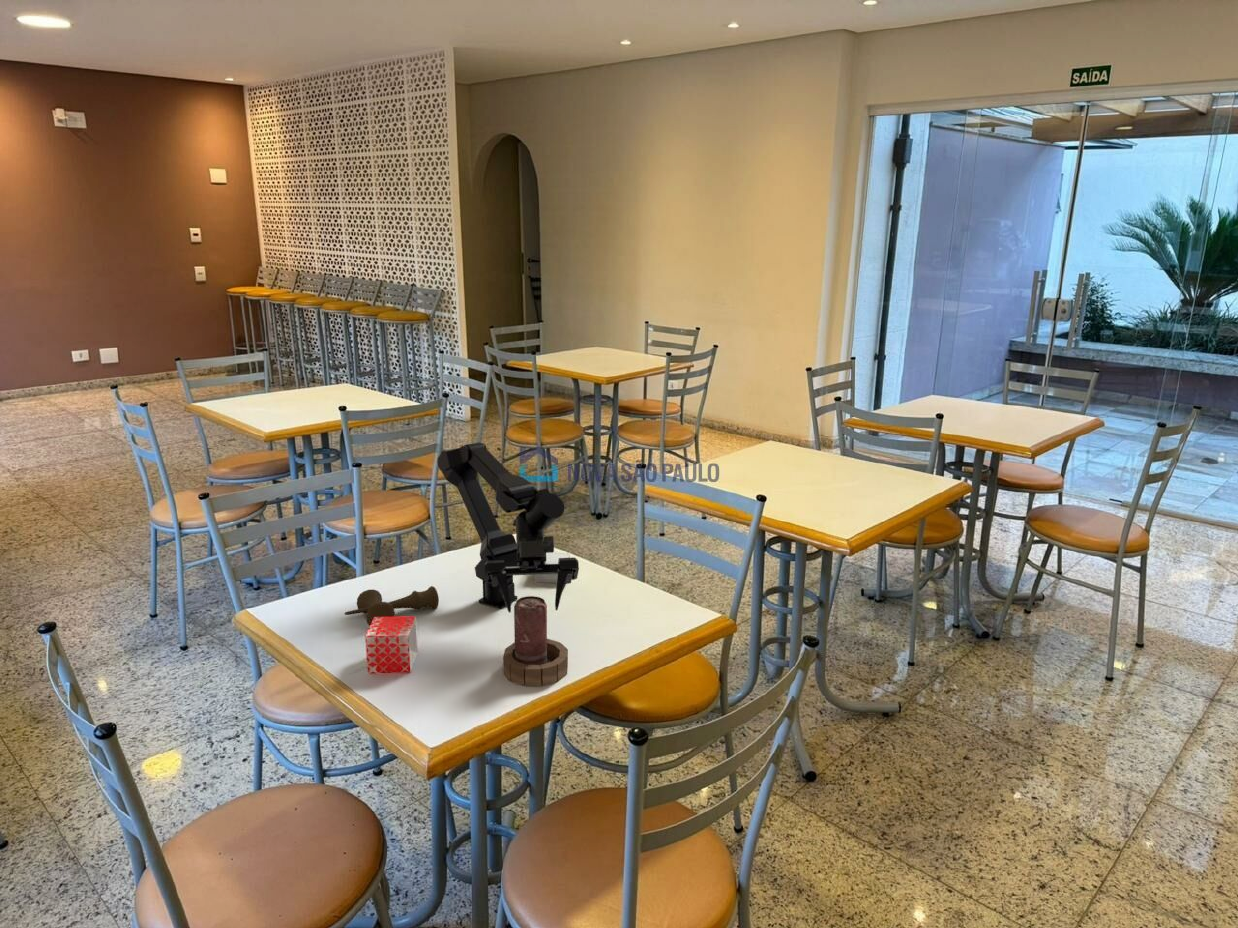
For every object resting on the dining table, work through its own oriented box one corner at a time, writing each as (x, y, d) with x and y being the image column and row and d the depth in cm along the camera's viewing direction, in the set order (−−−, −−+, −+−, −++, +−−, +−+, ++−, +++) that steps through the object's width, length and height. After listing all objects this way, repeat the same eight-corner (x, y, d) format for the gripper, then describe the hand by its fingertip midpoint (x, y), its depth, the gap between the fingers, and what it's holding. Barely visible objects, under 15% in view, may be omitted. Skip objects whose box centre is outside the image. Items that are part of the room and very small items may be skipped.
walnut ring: (491, 675, 153) (490, 658, 152) (528, 648, 163) (528, 632, 162) (544, 692, 148) (544, 675, 147) (579, 664, 158) (579, 647, 157)
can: (543, 679, 152) (542, 610, 148) (510, 675, 153) (509, 606, 150) (552, 663, 158) (552, 596, 154) (520, 659, 159) (520, 593, 155)
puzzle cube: (376, 653, 161) (374, 616, 158) (417, 652, 161) (415, 616, 159) (367, 674, 153) (365, 635, 151) (410, 673, 153) (408, 635, 151)
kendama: (444, 617, 178) (350, 635, 167) (429, 602, 186) (339, 618, 175) (443, 591, 176) (349, 608, 166) (429, 577, 184) (338, 592, 174)
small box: (570, 571, 203) (570, 552, 201) (566, 584, 195) (566, 564, 194) (539, 570, 203) (539, 550, 202) (533, 582, 196) (533, 562, 194)
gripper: (483, 523, 160) (484, 598, 152) (578, 520, 163) (583, 594, 155) (484, 546, 170) (485, 618, 162) (574, 543, 172) (579, 613, 165)
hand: (533, 610), depth 161 cm, fingers open, 9 cm apart
